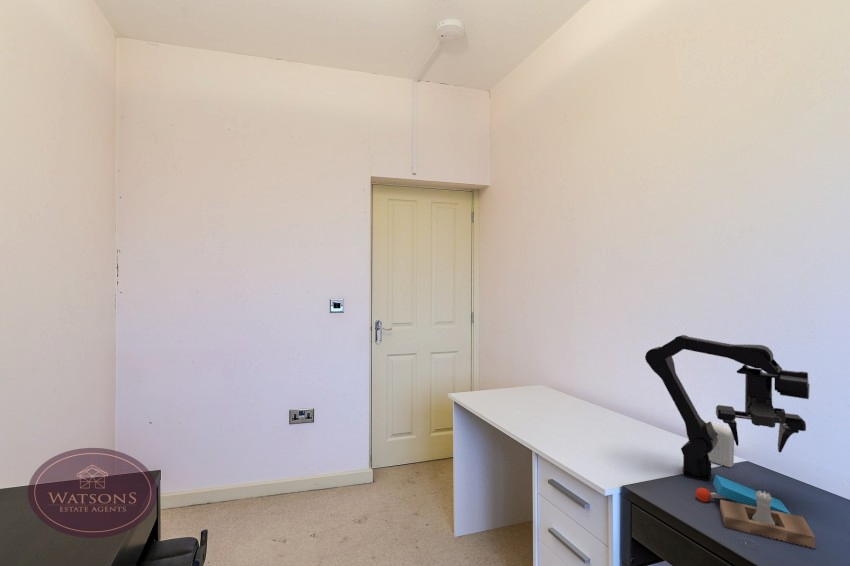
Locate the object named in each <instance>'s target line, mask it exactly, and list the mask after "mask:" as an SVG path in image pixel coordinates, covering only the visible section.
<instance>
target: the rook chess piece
mask: <svg viewBox="0 0 850 566" xmlns="http://www.w3.org/2000/svg"><path fill="white" fill-rule="evenodd" d="M756 491H757V494H755V497H756V498H757V501H756V503H757V509H756V513H755V514H754V515H753V516H752V518H751V520H753V521H757V522H762V523H766V524H770V525H775V526H776V524H775V522H774V521H773V519H772V517H771V512H770V507H771V505H770V502H771V501H772V500H773V499H772V498H771V497H772V496H771V493H770V492H767V491H764V490H763V492H762V491H761V490H756Z"/></svg>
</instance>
